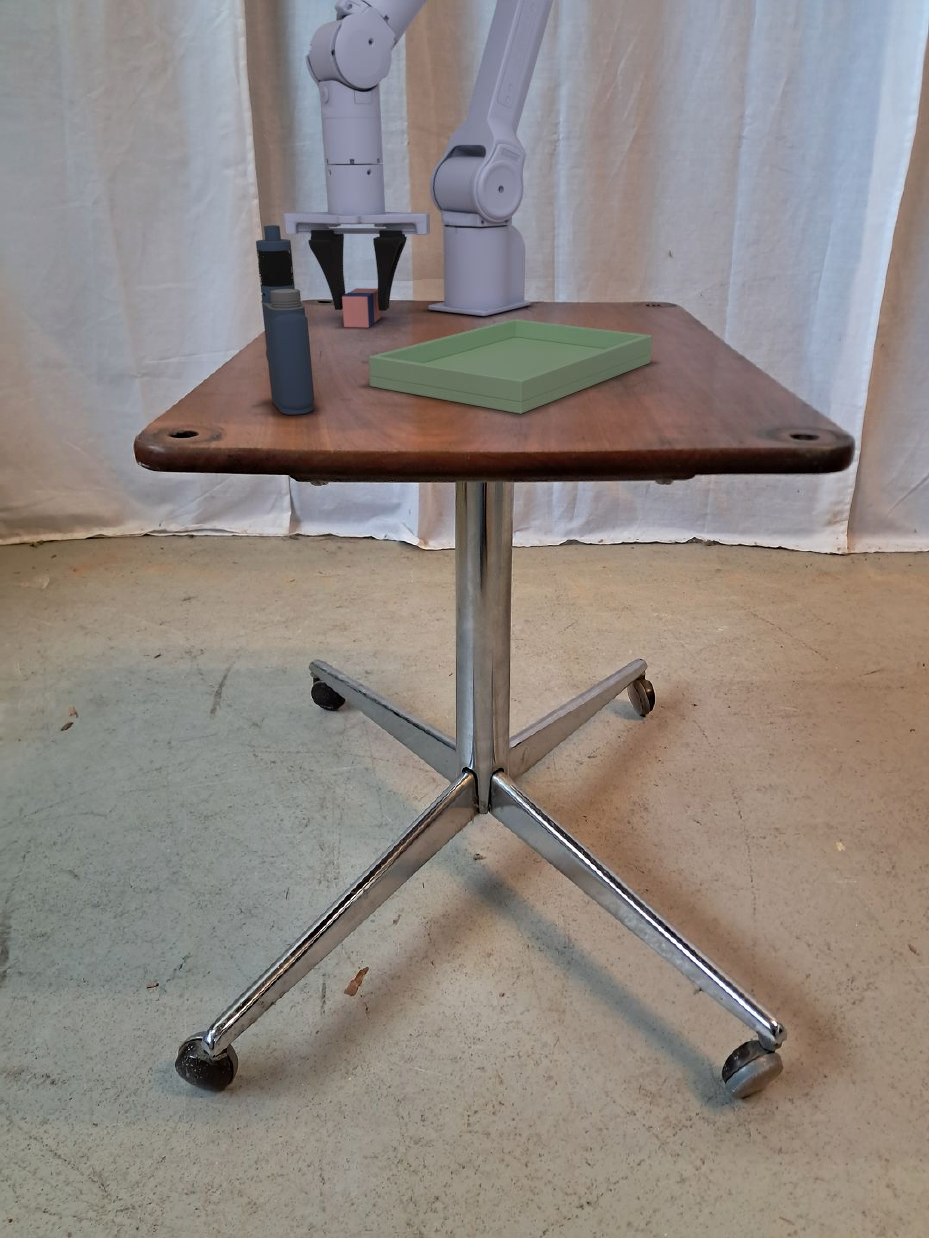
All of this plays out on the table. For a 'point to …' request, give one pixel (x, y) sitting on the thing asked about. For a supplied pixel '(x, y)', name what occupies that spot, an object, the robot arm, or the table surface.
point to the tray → (510, 364)
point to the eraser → (361, 308)
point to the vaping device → (284, 326)
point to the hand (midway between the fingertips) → (362, 309)
